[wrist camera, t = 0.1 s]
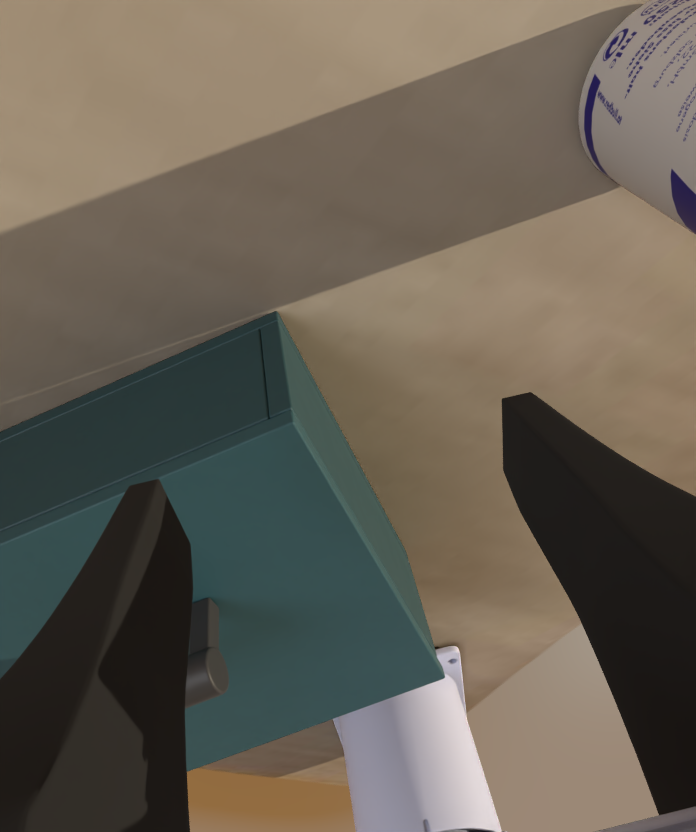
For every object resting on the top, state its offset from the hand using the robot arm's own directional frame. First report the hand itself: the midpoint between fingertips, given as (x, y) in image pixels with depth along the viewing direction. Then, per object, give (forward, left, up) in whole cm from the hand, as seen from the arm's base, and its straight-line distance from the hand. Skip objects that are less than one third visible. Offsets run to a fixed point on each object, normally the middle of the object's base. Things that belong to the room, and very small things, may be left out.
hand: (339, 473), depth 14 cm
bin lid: (-10, +7, -4) cm, 13 cm away
